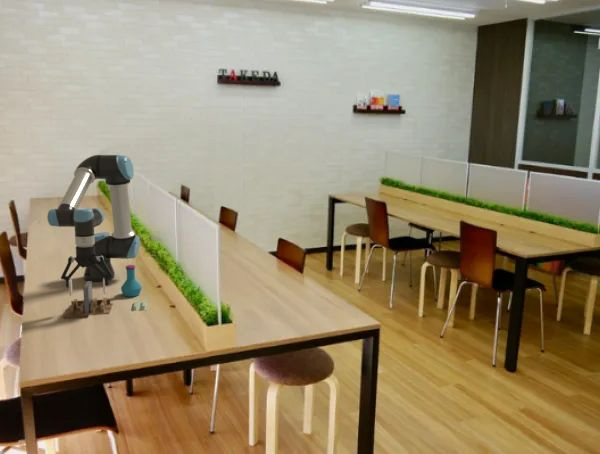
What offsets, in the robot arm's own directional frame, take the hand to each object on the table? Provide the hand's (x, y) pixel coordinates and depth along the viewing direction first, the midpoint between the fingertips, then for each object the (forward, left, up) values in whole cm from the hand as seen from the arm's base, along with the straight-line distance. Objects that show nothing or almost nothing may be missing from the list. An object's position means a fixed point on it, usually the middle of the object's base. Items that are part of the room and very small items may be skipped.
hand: (88, 294), depth 234 cm
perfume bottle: (-18, +16, -8) cm, 26 cm away
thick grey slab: (0, 0, -7) cm, 7 cm away
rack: (0, 0, -8) cm, 8 cm away
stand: (-2, +21, -8) cm, 23 cm away
